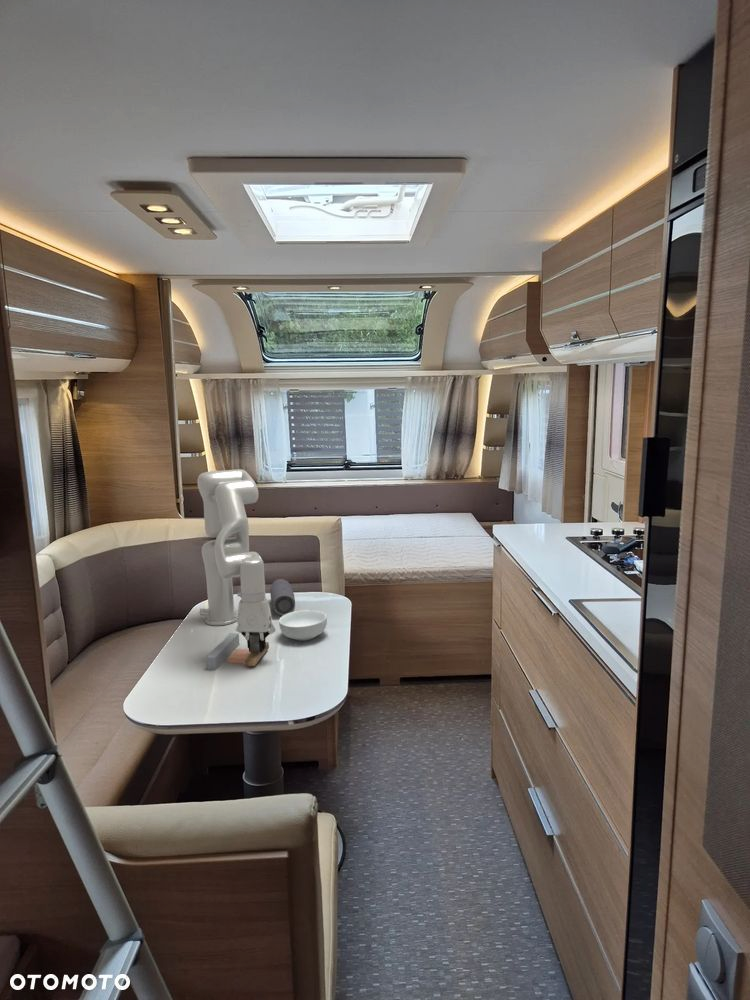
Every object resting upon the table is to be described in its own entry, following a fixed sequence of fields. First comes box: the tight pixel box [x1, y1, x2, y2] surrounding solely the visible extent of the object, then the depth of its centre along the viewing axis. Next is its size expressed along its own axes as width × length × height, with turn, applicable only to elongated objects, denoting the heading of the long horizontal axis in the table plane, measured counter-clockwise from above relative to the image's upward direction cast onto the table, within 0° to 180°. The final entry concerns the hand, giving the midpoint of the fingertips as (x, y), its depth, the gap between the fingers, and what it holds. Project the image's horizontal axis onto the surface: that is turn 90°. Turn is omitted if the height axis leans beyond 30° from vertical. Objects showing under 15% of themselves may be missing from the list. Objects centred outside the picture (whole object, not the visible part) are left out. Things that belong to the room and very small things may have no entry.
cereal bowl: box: [278, 609, 328, 642], centre depth 213 cm, size 17×17×7 cm
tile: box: [227, 648, 251, 664], centre depth 197 cm, size 7×7×2 cm
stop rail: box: [205, 632, 240, 671], centre depth 198 cm, size 3×20×4 cm, turn 171°
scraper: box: [244, 632, 270, 667], centre depth 195 cm, size 3×14×8 cm, turn 171°
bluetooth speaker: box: [269, 578, 296, 617], centre depth 242 cm, size 23×9×10 cm, turn 12°
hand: (256, 649), depth 196 cm, fingers closed on scraper, 3 cm apart
